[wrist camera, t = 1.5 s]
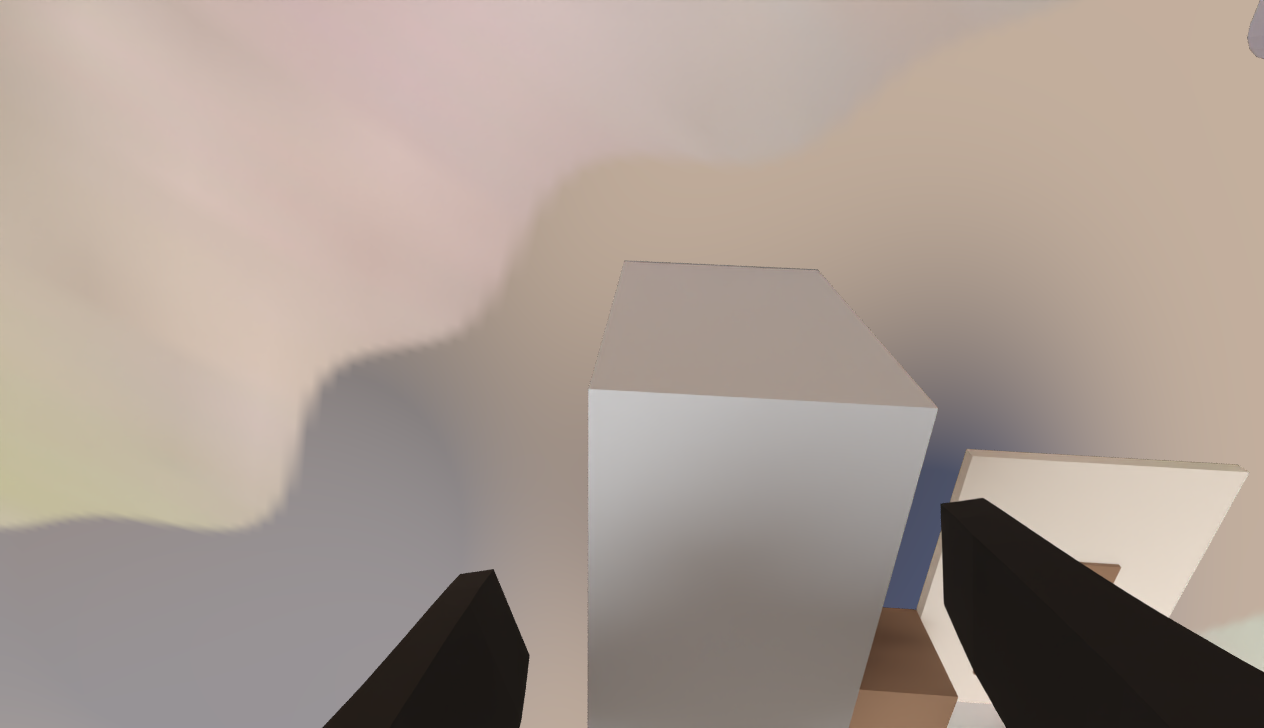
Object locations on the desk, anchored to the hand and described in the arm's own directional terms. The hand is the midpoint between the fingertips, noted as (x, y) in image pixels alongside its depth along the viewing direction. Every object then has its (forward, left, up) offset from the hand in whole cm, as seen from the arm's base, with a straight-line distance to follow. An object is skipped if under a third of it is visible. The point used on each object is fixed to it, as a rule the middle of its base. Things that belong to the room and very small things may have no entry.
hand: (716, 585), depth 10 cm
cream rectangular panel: (-9, +4, -5) cm, 11 cm away
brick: (0, 0, -5) cm, 5 cm away
